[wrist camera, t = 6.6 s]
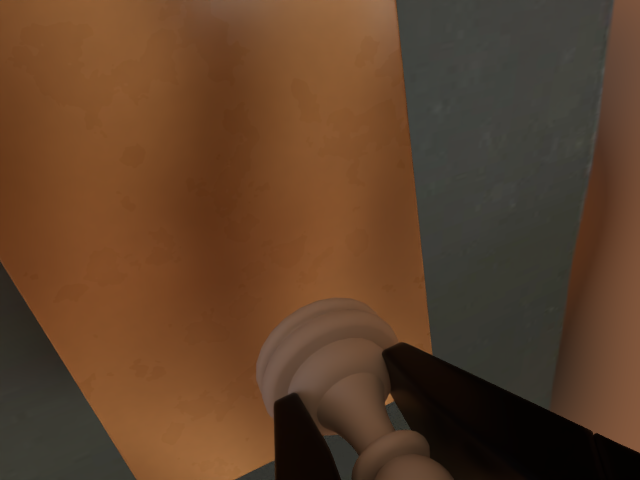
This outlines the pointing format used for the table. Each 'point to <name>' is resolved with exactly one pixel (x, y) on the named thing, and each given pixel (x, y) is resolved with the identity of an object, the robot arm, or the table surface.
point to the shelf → (201, 202)
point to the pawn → (344, 385)
